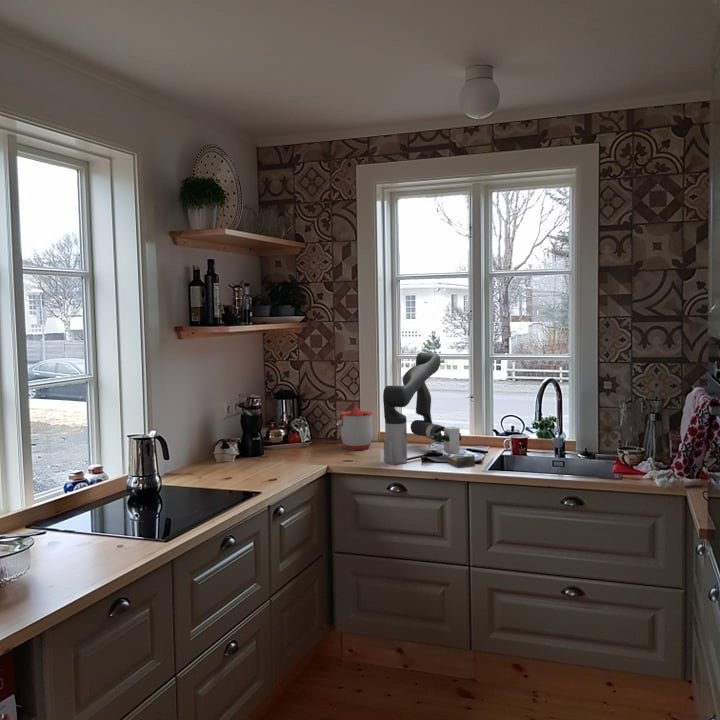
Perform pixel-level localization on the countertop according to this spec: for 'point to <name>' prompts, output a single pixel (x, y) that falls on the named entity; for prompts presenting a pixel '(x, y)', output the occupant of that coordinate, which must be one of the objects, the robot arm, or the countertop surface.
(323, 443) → the countertop surface
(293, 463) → the countertop surface
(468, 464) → the walnut cradle
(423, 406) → the robot arm
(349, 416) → the citrus juicer
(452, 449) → the aluminium block
